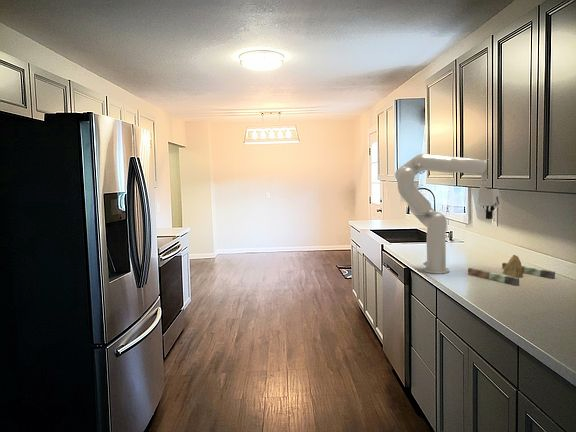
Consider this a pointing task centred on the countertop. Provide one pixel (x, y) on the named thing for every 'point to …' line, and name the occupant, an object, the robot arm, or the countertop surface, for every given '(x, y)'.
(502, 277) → the channel
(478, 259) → the countertop surface
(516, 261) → the rock
